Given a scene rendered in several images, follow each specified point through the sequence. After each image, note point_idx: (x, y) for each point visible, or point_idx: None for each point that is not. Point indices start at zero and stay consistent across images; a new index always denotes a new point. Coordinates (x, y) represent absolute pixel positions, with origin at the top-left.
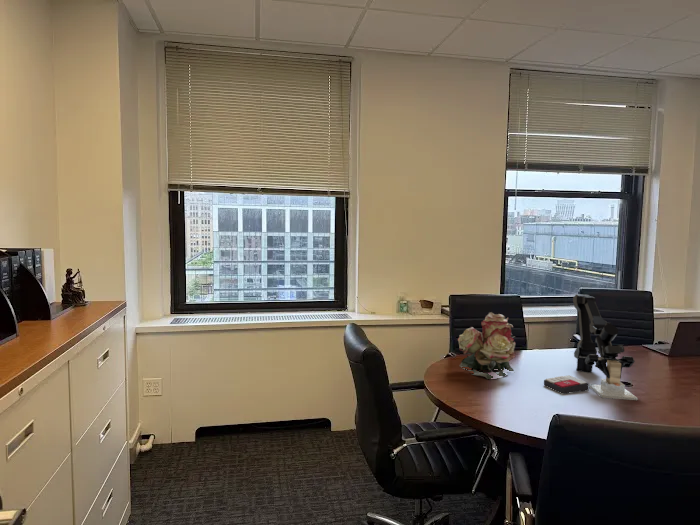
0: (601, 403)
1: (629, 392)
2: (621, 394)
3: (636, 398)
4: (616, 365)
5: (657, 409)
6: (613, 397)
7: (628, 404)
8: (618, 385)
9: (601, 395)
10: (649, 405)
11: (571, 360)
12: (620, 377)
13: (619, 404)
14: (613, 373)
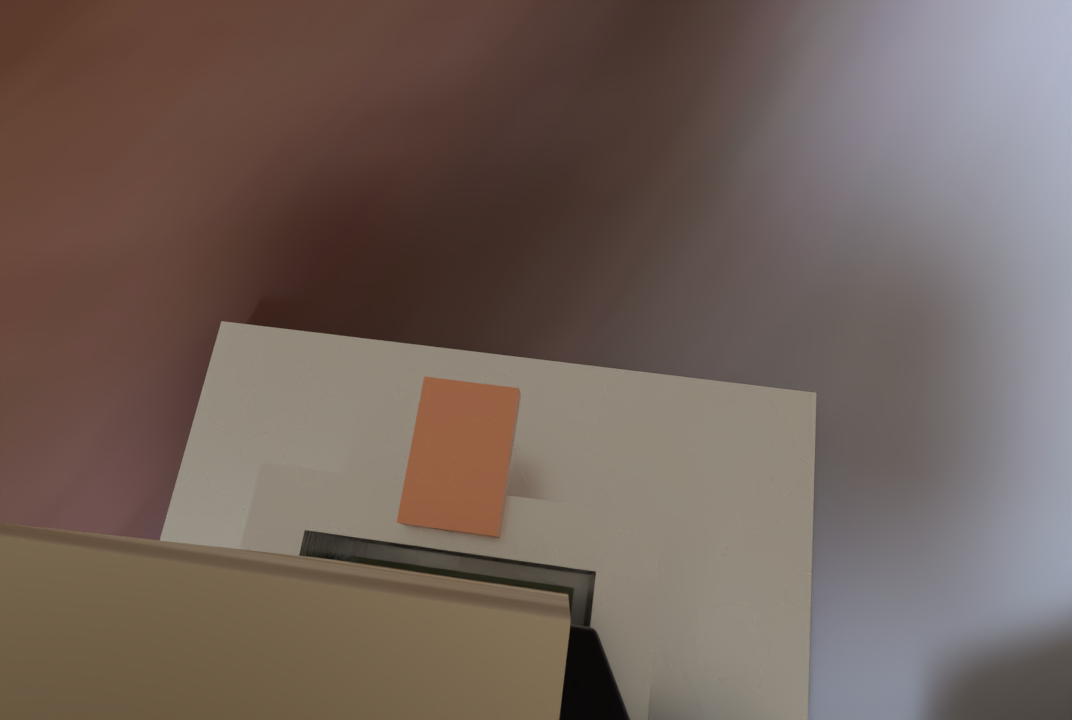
0: (921, 170)
1: None
2: (400, 473)
3: (243, 327)
4: (176, 554)
5: (215, 34)
6: (612, 375)
7: (509, 164)
8: (468, 387)
9: (812, 420)
10: (213, 153)
11: None
12: None
13: (651, 154)
14: (453, 583)
